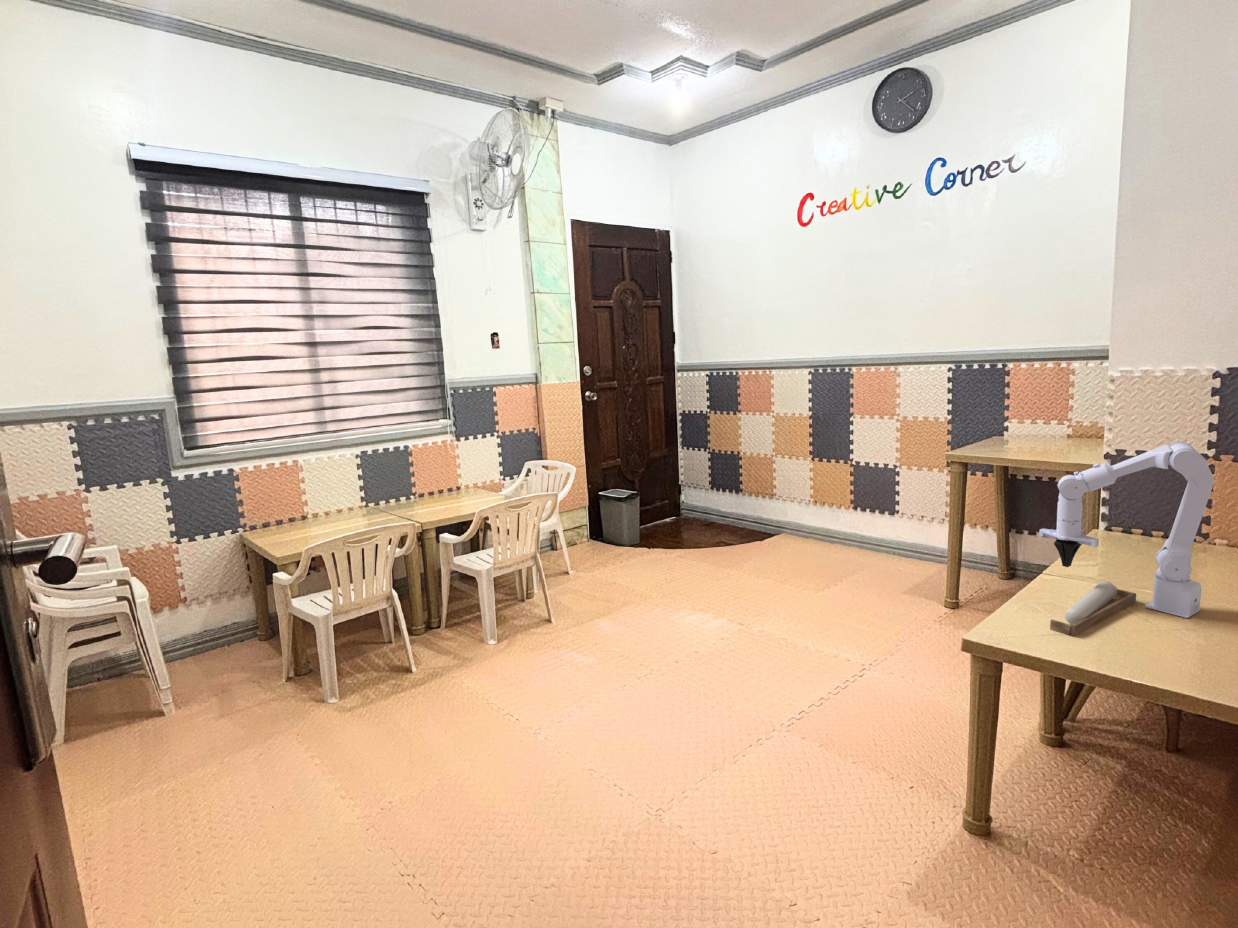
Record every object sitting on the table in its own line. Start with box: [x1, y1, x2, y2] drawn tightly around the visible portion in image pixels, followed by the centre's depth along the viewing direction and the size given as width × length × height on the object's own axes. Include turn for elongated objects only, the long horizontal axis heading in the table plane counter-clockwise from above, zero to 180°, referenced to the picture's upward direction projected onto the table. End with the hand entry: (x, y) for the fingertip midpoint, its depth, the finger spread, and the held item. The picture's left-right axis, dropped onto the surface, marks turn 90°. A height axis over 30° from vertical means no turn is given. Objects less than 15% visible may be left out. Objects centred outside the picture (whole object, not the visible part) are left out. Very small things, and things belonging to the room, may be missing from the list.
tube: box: [1064, 580, 1118, 625], centre depth 188 cm, size 5×5×25 cm
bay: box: [1049, 588, 1137, 637], centre depth 186 cm, size 5×33×2 cm, turn 121°
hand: (1066, 565), depth 197 cm, fingers closed
